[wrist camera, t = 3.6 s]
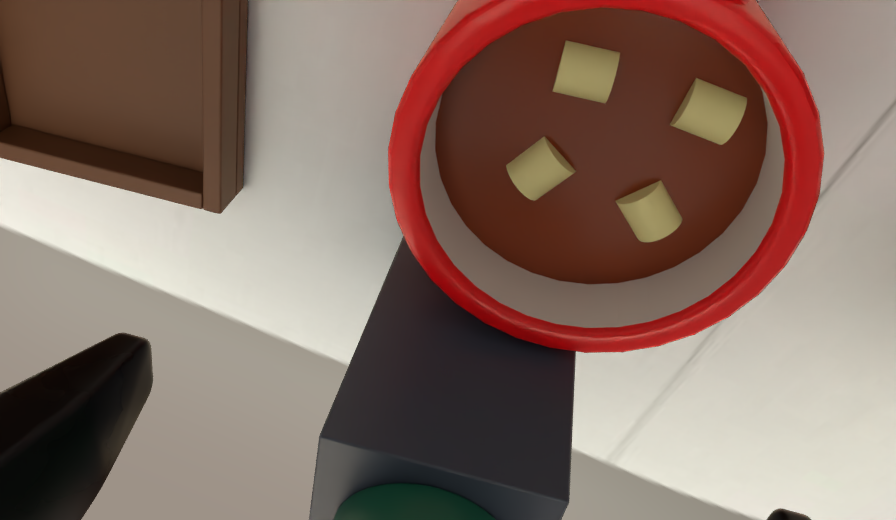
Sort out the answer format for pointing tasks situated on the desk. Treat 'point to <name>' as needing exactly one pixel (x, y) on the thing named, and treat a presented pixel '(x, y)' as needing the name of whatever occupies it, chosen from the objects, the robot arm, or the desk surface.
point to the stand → (448, 408)
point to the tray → (128, 93)
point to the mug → (605, 165)
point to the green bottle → (409, 504)
